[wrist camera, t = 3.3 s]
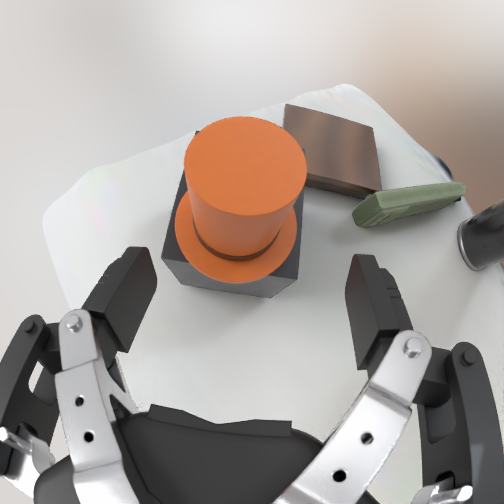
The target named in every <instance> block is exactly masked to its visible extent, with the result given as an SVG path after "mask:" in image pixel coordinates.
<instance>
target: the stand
mask: <svg viewBox="0 0 504 504" xmlns="http://www.w3.org/2000/svg"><path fill="white" fill-rule="evenodd" d="M282 129H284V130H285V131H287V132H288V133H289V134H290V135H291V136H292V137H293V138H294V139H295V140H296V141H297V143H298V144H299V145H300V147H301V148H305V158H306V163H307V177H306V181H305V186H309V187H314V188H319V189H323V190H328V191H332V192H336V193H340V194H345V195H349V196H353V197H357V198H361V199H365V198H366V197H367V196H368V195H369V194H372V195H373V194H374V193H375V192H378V191H382V189H381V180H380V172H379V164H378V157H377V151H376V145H375V139H374V133H373V128H372V127H369V126H366V125H363V124H360V123H357V122H354V121H350V120H347V119H344V118H340V117H337V116H334V115H330V114H326V113H323V112H319V111H315V110H311V109H307V108H303V107H298V106H294V105H289V104H286V105H285V108H284V118H283V128H282Z"/></svg>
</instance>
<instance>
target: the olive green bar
mask: <svg viewBox="0 0 504 504" xmlns="http://www.w3.org/2000/svg"><path fill="white" fill-rule="evenodd" d="M464 191H466V188H465V185H464V184H462V183H459V182H450V183H440V184H430V185H421V186H414V187H406V188H399V189H392V190H385V191H378V192H375V193H374V194H373V195H371V196H370V197H369V198H368V199H367V200H366V201H364V202H363V203H362V204H361V205H360V206H359V207H358V208H356V209H355V210H354V211H353V213H352V216H353V218H354V221H355V223H356V225H357V226H363V227H370V226H374V225H379V224H383V223H388V222H389V221H391V220H393V219H397V218H401V217H406V216H410V215H415V214H419V213H424V212H428V211H433V210H437V209H441V208H443V207H445V206H446V205H448V204H450V203H452V202H457V201H460V200H461V196H463V194H464Z"/></svg>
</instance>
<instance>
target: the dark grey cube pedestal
mask: <svg viewBox="0 0 504 504" xmlns="http://www.w3.org/2000/svg"><path fill="white" fill-rule="evenodd" d="M199 132H200V131H196V133H195V136H196V134H198V133H199ZM195 136H194V137H195ZM301 149H302V151H303V153H304V156H305V148H301ZM187 191H188V187H187V182H186V177H185V171H183V174H182V177H181V181H180V184H179V188H178V191H177V195H176V199H175V202H174V206H173V210H172V214H171V218H170V221H169V225H168V230H167V234H166V238H165V242H164V246H163V251H162V255H161V259H162V260H163V261H164V263H165V264H166V265H167V266H168V268H169V269H170V270H171V272H172V273H173V274H174V276H175V277H176V278H177V279H178V281H179V282H180V283H181V284H183V285H189V286H194V287H200V288H206V289H212V290H219V291H225V292H231V293H238V294H245V295H252V296H258V297H266V298H271V297H273V296H274V295H276V294H277V293H279V292H280V291H281V290H283V289H284V288H286V287H287V286H289V285H290V284H291V283H293V282H294V281H296V280H297V278H298V267H299V255H300V242H301V228H302V213H303V195H304V187H303V189H302V191H301V193H300V194H299V196H298V198H297V200H296V201H295V203H294V205H293V208H294V211H295V215H296V221H297V233H296V239H295V243H294V246H293V248H292V250H291V252H290V254H289V255H288V257H287V259H286V260H285V261H284V262H283V263H282V264H281V266H280V267H278V268H277V269H276V270H275V271H274V272H272V273H271V274H269V275H268V276H266V277H264V278H262V279H259V280H256V281H253V282H249V283H240V284H233V283H225V282H220V281H217V280H214V279H211V278H209V277H207V276H206V275H204V274H202V273H201V272H199V271H198V270H197V269H195V268H194V267H193V266H192V265H191V264H190V263H189V261H188V260H187V259H186V258H185V256H184V254H183V253H182V251H181V249H180V246H179V244H178V241H177V237H176V232H175V217H176V212H177V209H178V206H179V203H180V201H181V199H182V198H183V196H184V195H185V193H186V192H187Z"/></svg>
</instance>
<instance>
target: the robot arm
mask: <svg viewBox="0 0 504 504" xmlns="http://www.w3.org/2000/svg"><path fill="white" fill-rule="evenodd" d="M458 244H459V248H460V251H461V254H462V256H463V259H464V260H465V262H466V263H467V265H468V266H469V267H470V268H471V269H473V270H475V271H478V270H481V269H483V268H485V267H488V266H490V265H493V264H496V263H498V262H501V261H503V260H504V199H502V200H501V201H499V202H497V203H496V204H494V205H493V206H491V207H489V208H488V209H486V210H484V211H483V212H481V213H479V214H477V215H476V216H475V215H474V216H472V217H471V218H470V219H469V220H466V221H464V222H462V223H461V224H460V226H459V229H458ZM156 288H157V276H156V272H155V269H154V266H153V262H152V259H151V256H150V252H149V250H148V248H147V247H128V248H127V249H126V251H125V252H124V254H123V255H122V257H121V258H118V259H117V260H115V261H114V262H113V263H112V264H110V265H109V266H108V268H107V269H106V271H105V272H104V274H103V276H102V277H101V278H100V280H99V281H98V284H96V286H95V287H94V289H93V290H92V292H91V293H90V295H89V296H88V298H87V300H86V301H85V303H84V304H83V306H82V308H81V309H75V310H72V311H70V312H69V313H67V314H66V315H65V316H64V317H63V318H62V320H61V321H60V322H59V323H51V324H46V323H45V321H44V320H43V319H42V317H41V316H40V315H31V316H29V317H28V318H26V319H25V320H24V321H23V322H22V323H21V325H20V327H19V328H18V330H17V332H16V334H15V336H14V337H13V339H12V341H11V343H10V345H9V346H8V349H7V350H6V352H5V354H4V356H3V358H2V360H1V362H0V477H2V478H5V479H7V480H8V481H9V482H11V483H12V484H13V485H14V486H16V487H17V488H18V489H20V490H21V491H23V492H24V493H25V494H27V495H28V496H30V497H31V498H33V500H34V504H380V503H379V502H378V501H377V500H376V499H375V498H374V497H373V496H372V495H371V494H370V493H369V492H368V491H367V490H366V489H367V488H368V486H369V485H370V484H371V482H372V481H373V479H374V478H375V476H376V475H377V473H378V472H379V470H380V469H381V467H382V466H383V464H384V463H385V461H386V460H387V458H388V456H389V455H390V453H391V451H392V450H393V448H394V446H395V445H396V443H397V441H398V439H399V438H400V436H401V434H402V432H403V430H404V428H405V426H406V425H407V423H408V421H409V419H410V416H411V413H412V409H411V408H410V405H411V403H415V404H417V409H418V418H419V427H420V437H421V451H422V478H423V488H422V489H421V490H419V491H418V492H417V494H416V495H415V497H414V498H413V500H412V502H411V504H504V454H503V445H502V438H501V431H500V425H499V420H498V415H497V410H496V405H495V401H494V397H493V393H492V389H491V385H490V381H489V378H488V374H487V371H486V368H485V365H484V361H483V358H482V356H481V353H480V352H479V350H478V349H477V348H476V347H475V346H474V345H472V344H471V343H468V342H460V343H458V344H456V345H455V347H454V348H453V349H452V350H451V351H449V350H445V349H440V348H436V347H432V346H431V345H430V343H429V341H428V340H427V338H426V337H425V336H423V335H422V334H421V333H419V332H417V331H414V330H413V327H412V324H411V321H410V318H409V315H408V313H407V310H406V307H405V305H404V302H403V299H401V294H400V292H399V290H398V287H397V284H396V282H395V279H394V277H393V276H392V275H391V274H390V273H389V272H388V271H387V270H386V269H385V268H379V266H378V264H377V261H376V259H375V256H374V255H364V254H354V256H353V258H352V262H351V266H350V270H349V274H348V278H347V282H346V286H345V301H346V306H347V311H348V316H349V321H350V327H351V332H352V338H353V344H354V350H355V356H356V363H357V370H367V372H368V378H369V380H368V381H367V383H366V384H365V386H364V387H363V389H362V390H361V392H360V393H359V395H358V396H357V398H356V399H355V401H354V402H353V404H352V405H351V407H350V408H349V410H348V411H347V412H346V414H345V415H344V416H343V418H342V419H341V420H340V422H339V423H338V424H337V426H336V427H335V428H334V429H333V431H332V432H331V433H330V434H329V436H328V437H327V438H326V439H325V441H324V442H323V443H322V442H321V441H319V440H318V439H316V438H315V437H313V436H311V435H309V434H307V433H305V432H303V431H300V430H297V429H293V428H291V427H292V421H279V420H258V419H254V420H248V421H241V422H233V423H224V424H215V423H212V422H209V421H207V420H204V419H202V418H199V417H197V416H195V415H192V414H190V413H188V412H185V411H183V410H178V409H173V408H168V407H164V406H159V405H155V404H151V406H150V409H149V411H146V412H140V411H139V410H138V408H137V406H136V405H135V403H134V401H133V400H132V398H131V395H130V393H129V390H128V387H127V384H126V381H125V378H124V375H123V372H122V369H121V366H120V363H119V360H118V358H117V356H116V353H117V351H120V352H125V353H128V352H129V349H130V347H131V345H132V342H133V340H134V338H135V335H136V333H137V331H138V328H139V326H140V324H141V322H142V319H143V317H144V315H145V313H146V310H147V308H148V306H149V304H150V302H151V300H152V297H153V295H154V293H155V291H156ZM37 361H38V362H40V364H41V365H42V366H43V367H44V368H43V370H42V372H41V374H40V377H39V379H38V382H37V384H36V386H35V389H34V391H33V393H32V392H31V391H30V389H29V385H28V383H29V379H30V376H31V374H32V372H33V370H34V367H35V365H36V363H37ZM59 414H60V416H61V421H62V425H63V430H64V434H65V438H66V442H67V446H68V449H69V453H70V454H69V455H68V456H67V457H65V458H63V459H62V460H60V461H59V462H57V463H56V464H55V457H54V456H53V454H51V453H50V449H49V447H50V443H51V440H52V436H53V433H54V429H55V426H56V423H57V420H58V417H59ZM50 466H51V467H50Z"/></svg>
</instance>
